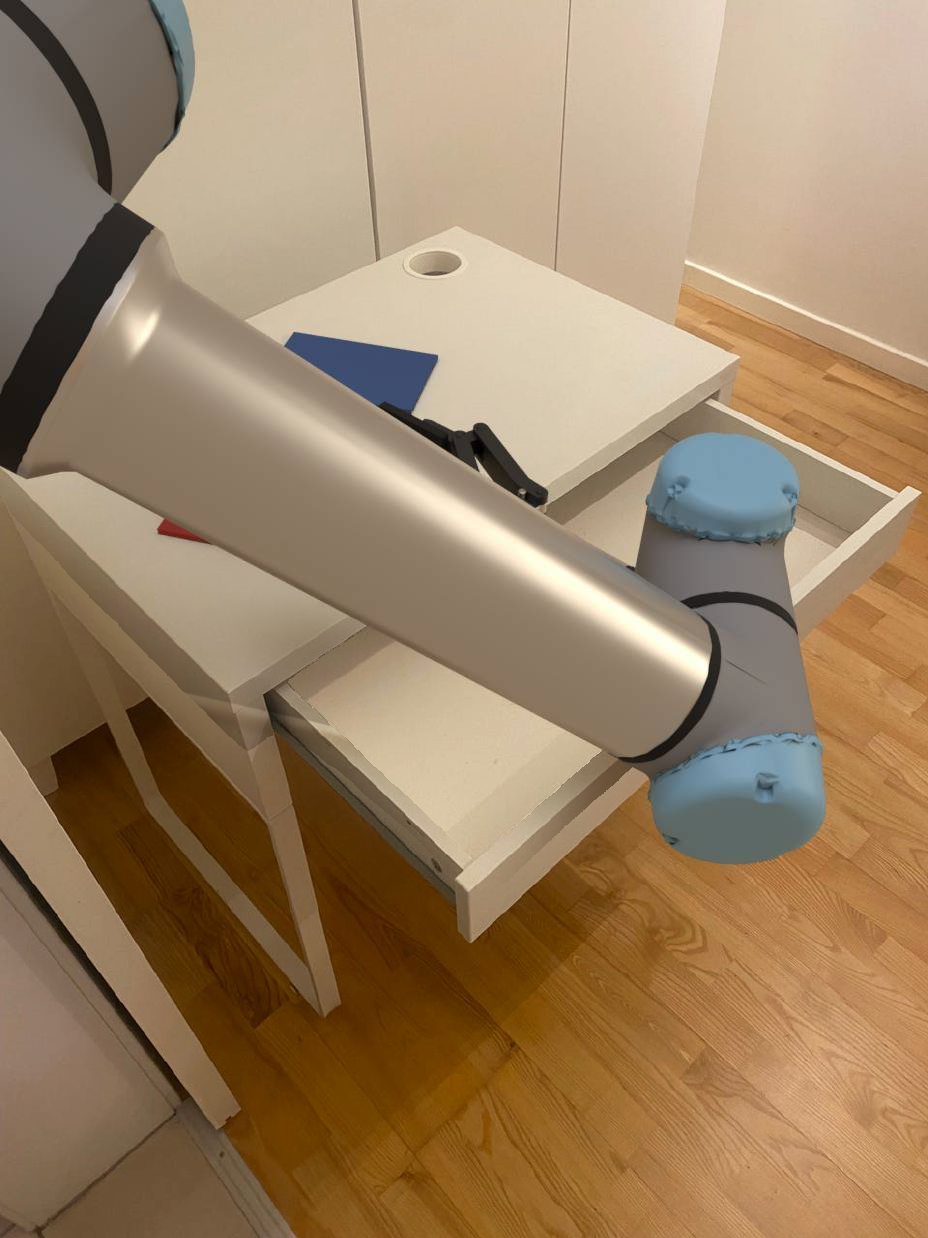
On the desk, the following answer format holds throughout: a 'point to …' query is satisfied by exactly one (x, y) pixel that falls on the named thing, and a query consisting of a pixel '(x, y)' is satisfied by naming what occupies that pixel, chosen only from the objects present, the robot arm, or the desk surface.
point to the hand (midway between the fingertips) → (322, 458)
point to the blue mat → (368, 367)
